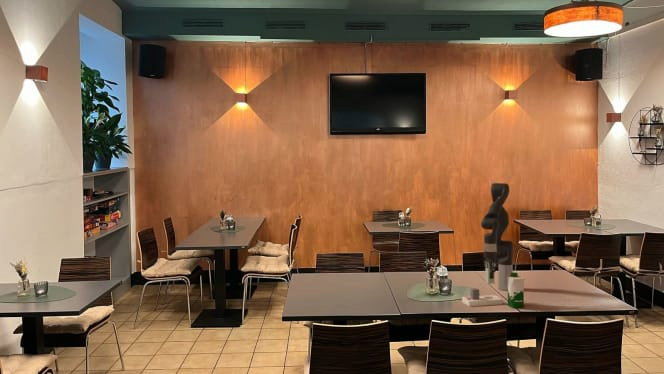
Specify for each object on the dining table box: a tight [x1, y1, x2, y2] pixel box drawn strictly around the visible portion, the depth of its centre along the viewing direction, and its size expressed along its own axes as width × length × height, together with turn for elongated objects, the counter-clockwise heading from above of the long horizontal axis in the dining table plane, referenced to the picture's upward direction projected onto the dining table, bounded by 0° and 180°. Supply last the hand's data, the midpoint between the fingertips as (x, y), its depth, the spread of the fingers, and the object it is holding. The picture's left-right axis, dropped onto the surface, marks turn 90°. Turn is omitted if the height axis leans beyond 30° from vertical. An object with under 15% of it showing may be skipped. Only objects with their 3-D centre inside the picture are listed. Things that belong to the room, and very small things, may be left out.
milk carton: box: [507, 272, 525, 309], centre depth 340 cm, size 9×9×20 cm
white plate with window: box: [461, 287, 504, 307], centre depth 350 cm, size 22×11×9 cm, turn 99°
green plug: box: [485, 268, 496, 285], centre depth 350 cm, size 4×4×9 cm
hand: (490, 277), depth 350 cm, fingers closed on green plug, 4 cm apart
